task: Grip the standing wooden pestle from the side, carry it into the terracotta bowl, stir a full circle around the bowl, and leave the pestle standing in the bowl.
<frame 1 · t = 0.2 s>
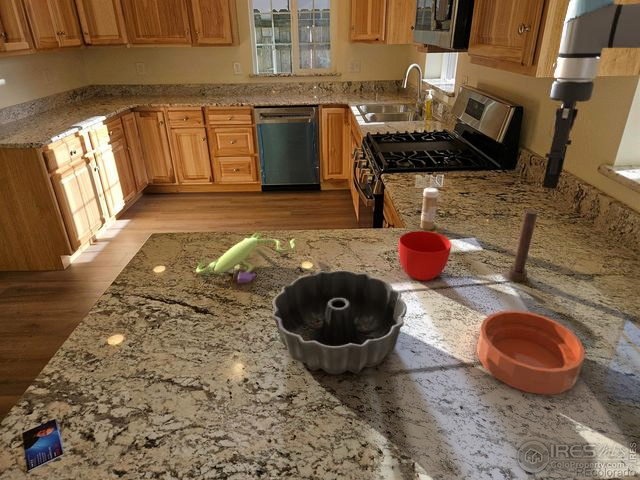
hand: (552, 179, 96), 27 cm above the countertop, tool pointing down, fingers open, 13 cm apart
bundt pan: (338, 343, 88), on the countertop
figurine: (250, 263, 119), on the countertop
wooden pestle: (516, 280, 110), on the countertop
sprinkles bottle: (426, 229, 139), on the countertop
ceramic cup: (423, 272, 114), on the countertop
bowl: (524, 362, 82), on the countertop
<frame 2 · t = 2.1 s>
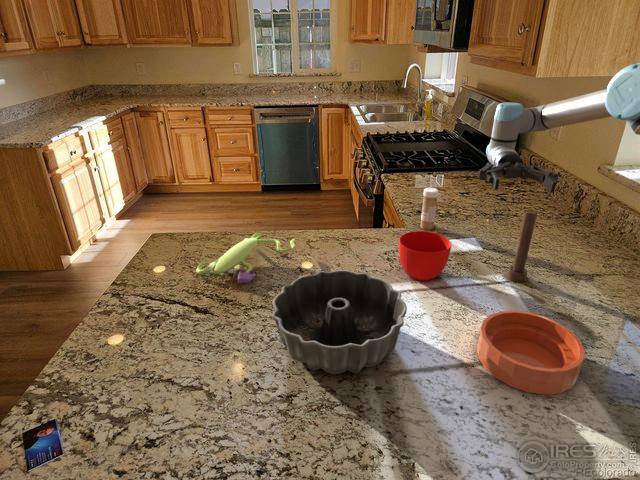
hand: (525, 186, 108), 22 cm above the countertop, tool horizontal, fingers open, 13 cm apart
nothing on the countertop moved.
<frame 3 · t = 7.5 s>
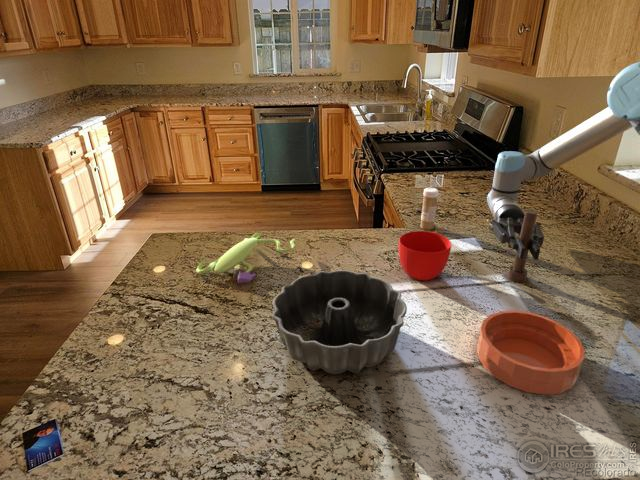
hand: (529, 253, 100), 11 cm above the countertop, tool horizontal, fingers closed on wooden pestle, 3 cm apart
wooden pestle: (516, 280, 110), on the countertop, touching gripper
everything else where it was.
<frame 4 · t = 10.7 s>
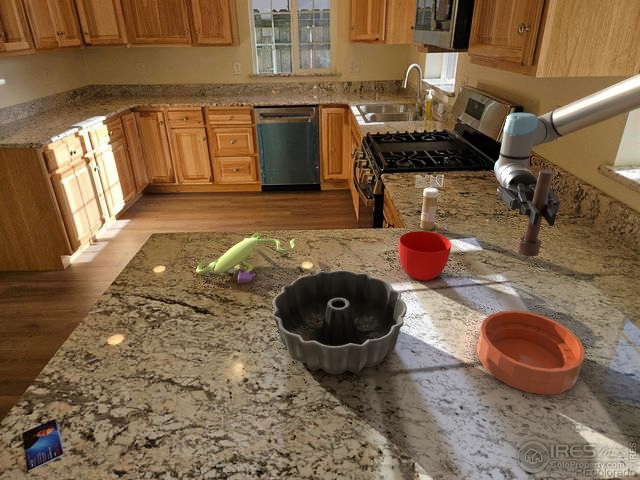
hand: (544, 219, 88), 23 cm above the countertop, tool horizontal, fingers closed on wooden pestle, 3 cm apart
wooden pestle: (527, 252, 97), point 12 cm above the countertop, touching gripper
everything else where it was.
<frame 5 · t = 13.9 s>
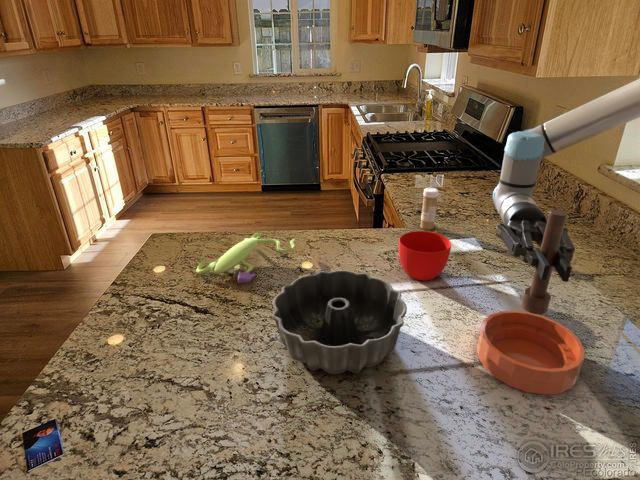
hand: (556, 273, 69), 22 cm above the countertop, tool horizontal, fingers closed on wooden pestle, 3 cm apart
wooden pestle: (533, 307, 79), point 12 cm above the countertop, touching gripper
everything else where it was.
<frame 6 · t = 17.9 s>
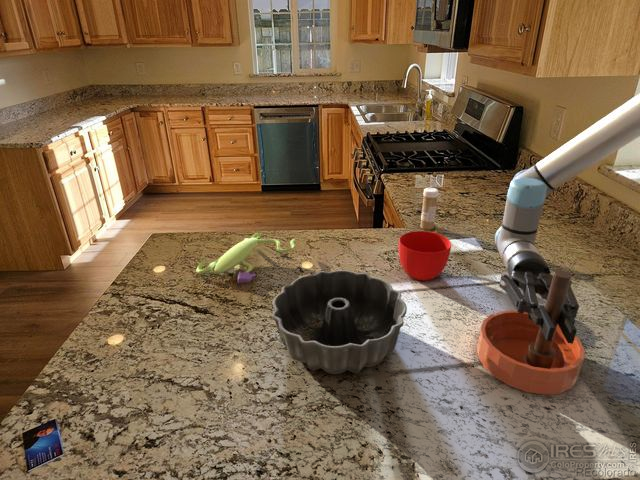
hand: (561, 335, 70), 13 cm above the countertop, tool horizontal, fingers closed on wooden pestle, 3 cm apart
wooden pestle: (538, 362, 79), point 2 cm above the countertop, touching gripper
everything else where it was.
when the fingers open (11 cm above the countertop, at t = 20.6 s): wooden pestle stays where it is, resting on bowl.
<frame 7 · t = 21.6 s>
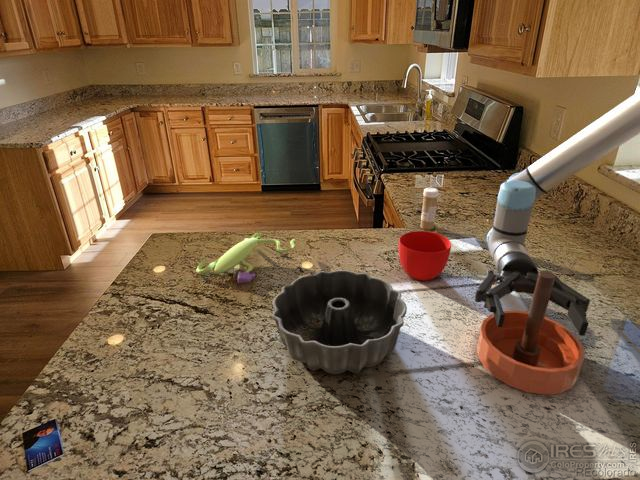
hand: (542, 325, 74), 11 cm above the countertop, tool horizontal, fingers open, 13 cm apart
wooden pestle: (524, 359, 82), point 1 cm above the countertop, touching bowl
everything else where it was.
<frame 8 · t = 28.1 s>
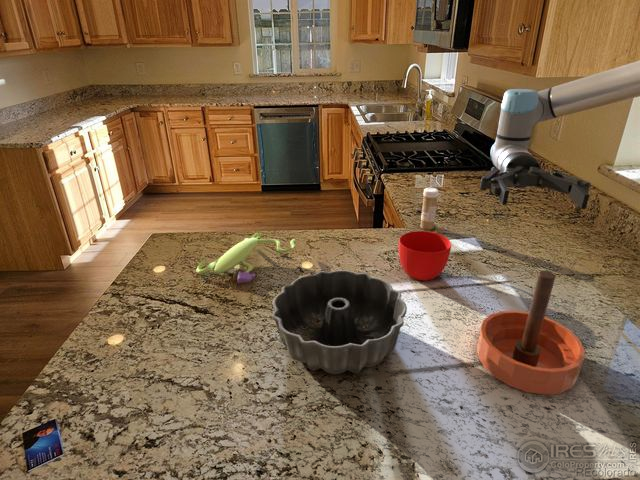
hand: (545, 200, 78), 30 cm above the countertop, tool horizontal, fingers open, 13 cm apart
nothing on the countertop moved.
at the end: wooden pestle inside the target area in the bowl (0.0 cm from its centre), point 0.8 cm above the bowl's base; wooden pestle moved 32.5 cm from its start; the gripper is holding nothing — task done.
